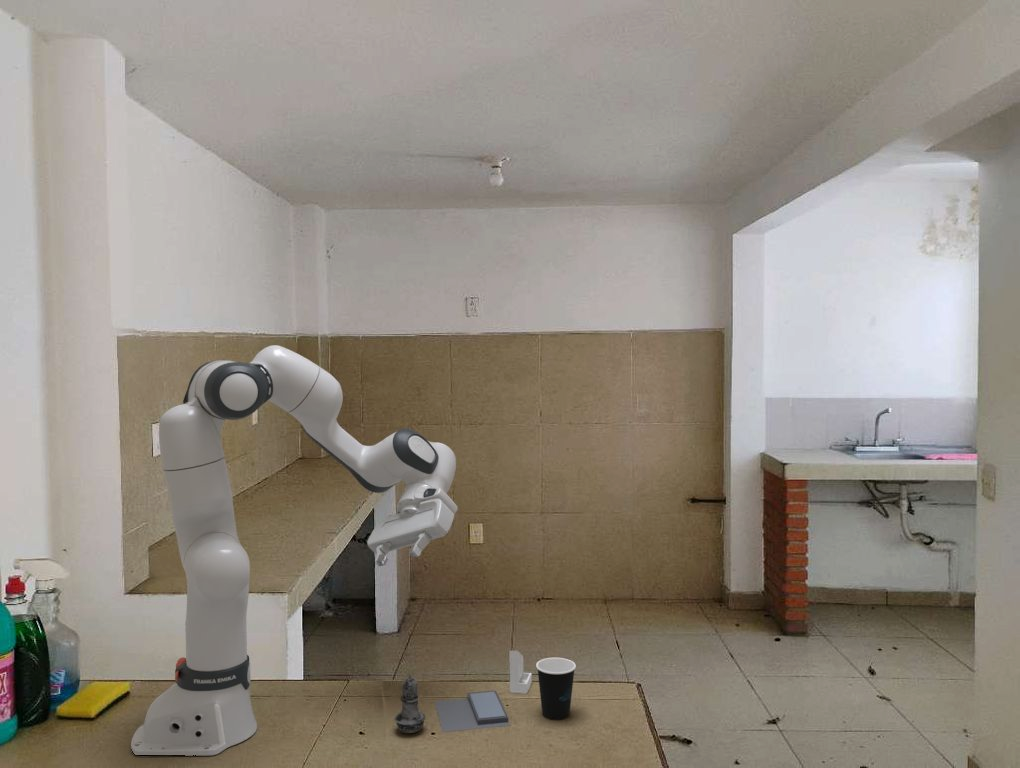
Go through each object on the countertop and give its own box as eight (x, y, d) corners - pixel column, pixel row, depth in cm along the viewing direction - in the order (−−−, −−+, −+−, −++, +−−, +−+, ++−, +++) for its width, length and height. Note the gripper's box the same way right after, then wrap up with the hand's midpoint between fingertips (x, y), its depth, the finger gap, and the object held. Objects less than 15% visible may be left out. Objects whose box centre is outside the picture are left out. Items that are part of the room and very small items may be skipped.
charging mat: (442, 737, 162) (442, 732, 162) (434, 705, 176) (434, 701, 175) (509, 730, 164) (509, 725, 164) (496, 700, 178) (496, 695, 178)
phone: (477, 724, 165) (477, 720, 165) (467, 697, 177) (467, 692, 177) (508, 722, 166) (508, 717, 166) (495, 694, 179) (495, 690, 179)
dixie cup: (574, 729, 165) (574, 673, 164) (533, 726, 166) (533, 671, 166) (577, 711, 173) (577, 658, 172) (538, 708, 174) (538, 656, 173)
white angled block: (505, 693, 175) (509, 650, 179) (513, 700, 184) (517, 658, 188) (523, 695, 175) (526, 651, 179) (530, 701, 184) (533, 659, 187)
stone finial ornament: (432, 733, 163) (431, 672, 163) (411, 745, 158) (411, 682, 158) (408, 725, 167) (408, 665, 166) (388, 737, 162) (387, 675, 161)
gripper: (374, 508, 183) (350, 559, 173) (446, 486, 172) (424, 539, 162) (393, 527, 186) (369, 578, 176) (464, 506, 175) (443, 559, 165)
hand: (396, 559), depth 169 cm, fingers open, 8 cm apart
